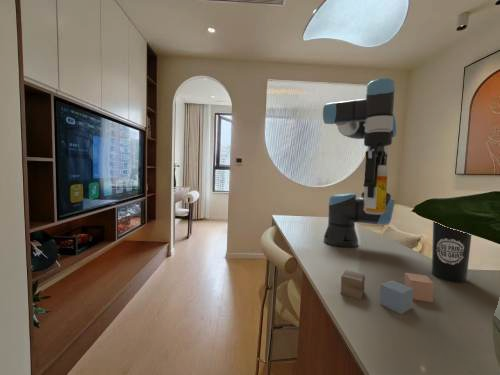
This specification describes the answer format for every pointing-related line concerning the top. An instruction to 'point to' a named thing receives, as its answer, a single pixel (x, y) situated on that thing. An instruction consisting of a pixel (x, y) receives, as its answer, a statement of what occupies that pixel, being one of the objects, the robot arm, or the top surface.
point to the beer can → (379, 192)
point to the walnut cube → (352, 284)
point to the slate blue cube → (396, 296)
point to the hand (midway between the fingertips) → (374, 207)
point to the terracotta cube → (420, 286)
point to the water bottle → (450, 254)
